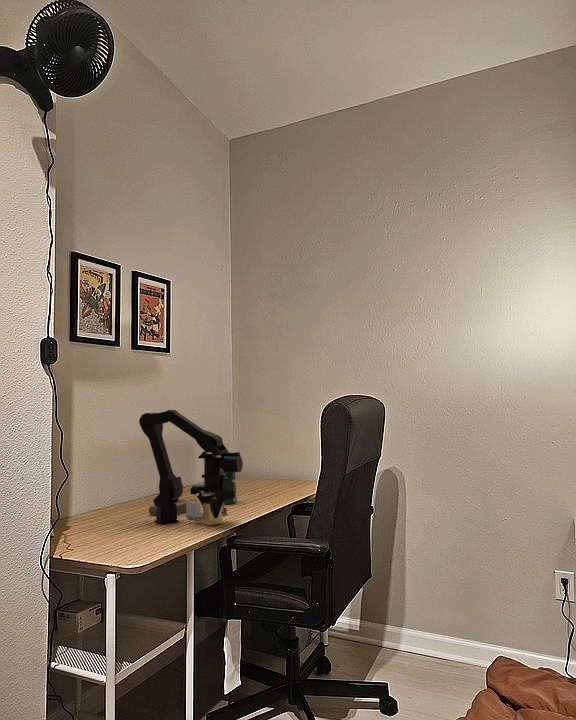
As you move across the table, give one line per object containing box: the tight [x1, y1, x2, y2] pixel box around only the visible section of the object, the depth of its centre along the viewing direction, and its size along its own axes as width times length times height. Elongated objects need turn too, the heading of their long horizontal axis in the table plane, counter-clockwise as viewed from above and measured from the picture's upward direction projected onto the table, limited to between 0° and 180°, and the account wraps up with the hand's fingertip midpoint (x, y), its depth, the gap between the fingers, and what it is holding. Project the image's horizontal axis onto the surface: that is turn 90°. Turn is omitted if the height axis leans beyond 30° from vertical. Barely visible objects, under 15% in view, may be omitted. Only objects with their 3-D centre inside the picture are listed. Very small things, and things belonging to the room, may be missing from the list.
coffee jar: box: [213, 470, 238, 505], centre depth 251 cm, size 10×8×19 cm
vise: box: [185, 501, 228, 521], centre depth 222 cm, size 14×6×6 cm, turn 133°
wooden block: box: [148, 498, 198, 516], centre depth 231 cm, size 4×11×18 cm
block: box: [202, 502, 223, 526], centre depth 208 cm, size 5×4×7 cm
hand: (212, 517), depth 208 cm, fingers closed on block, 4 cm apart
